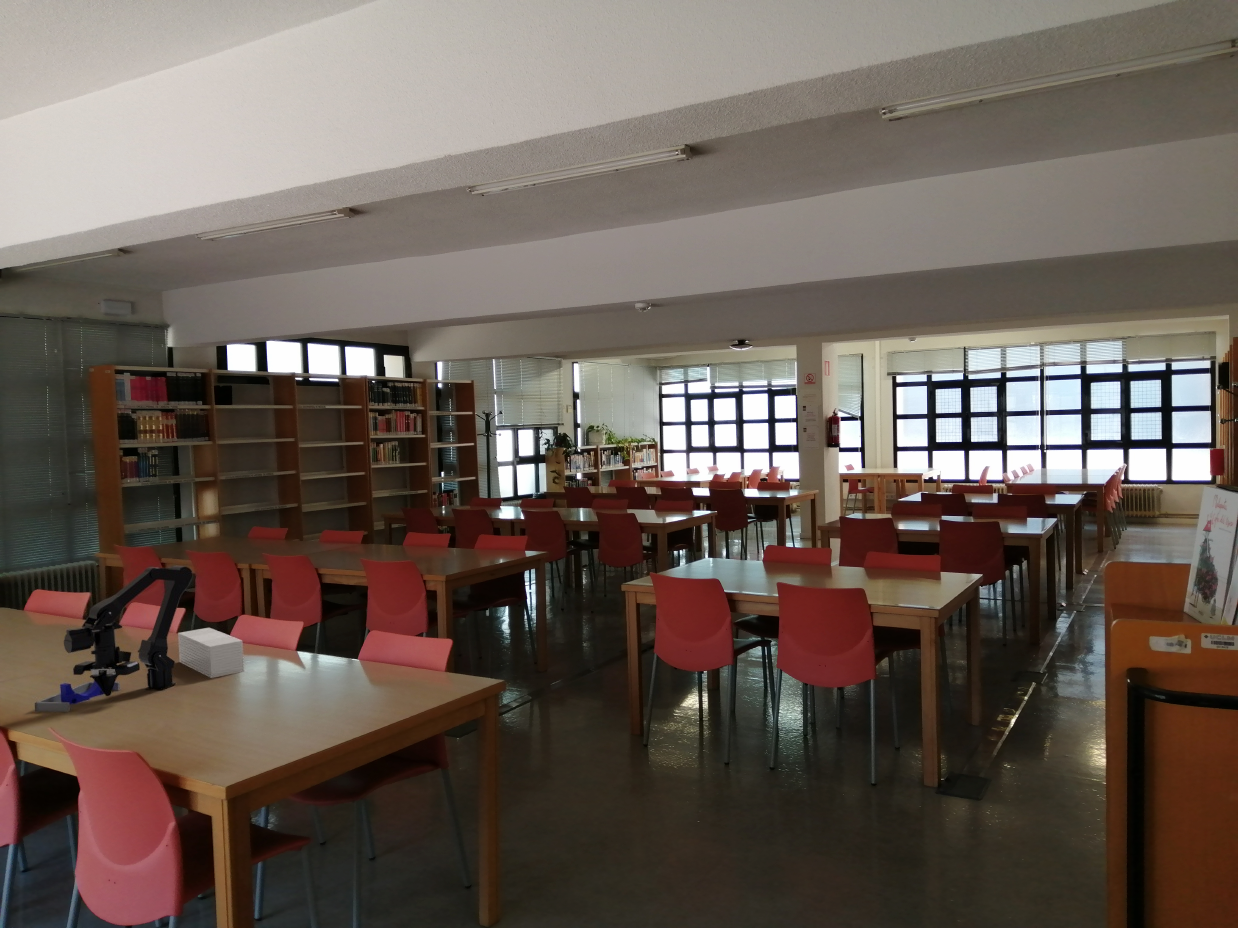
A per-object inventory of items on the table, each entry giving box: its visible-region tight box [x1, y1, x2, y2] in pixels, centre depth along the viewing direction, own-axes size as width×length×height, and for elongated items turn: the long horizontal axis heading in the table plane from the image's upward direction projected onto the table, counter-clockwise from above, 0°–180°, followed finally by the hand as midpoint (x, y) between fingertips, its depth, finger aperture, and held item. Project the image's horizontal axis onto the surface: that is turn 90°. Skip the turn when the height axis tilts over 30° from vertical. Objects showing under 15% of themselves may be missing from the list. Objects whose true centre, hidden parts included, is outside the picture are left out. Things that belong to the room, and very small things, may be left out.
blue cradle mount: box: [59, 679, 105, 706], centre depth 271 cm, size 12×4×6 cm, turn 151°
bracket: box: [34, 681, 121, 713], centre depth 269 cm, size 11×22×2 cm, turn 172°
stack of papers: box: [177, 627, 245, 679], centre depth 305 cm, size 32×11×11 cm, turn 44°
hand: (108, 695), depth 268 cm, fingers closed
